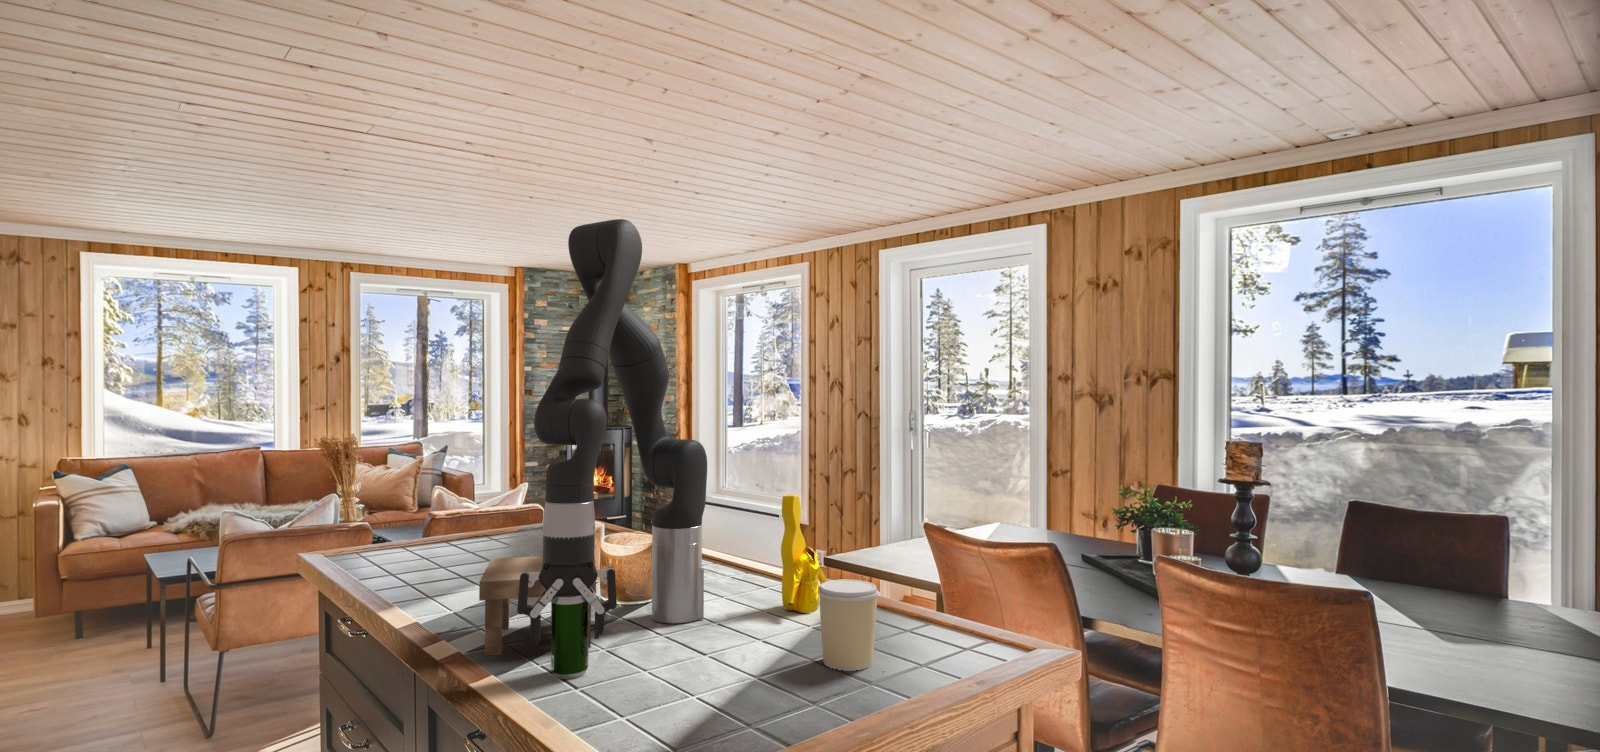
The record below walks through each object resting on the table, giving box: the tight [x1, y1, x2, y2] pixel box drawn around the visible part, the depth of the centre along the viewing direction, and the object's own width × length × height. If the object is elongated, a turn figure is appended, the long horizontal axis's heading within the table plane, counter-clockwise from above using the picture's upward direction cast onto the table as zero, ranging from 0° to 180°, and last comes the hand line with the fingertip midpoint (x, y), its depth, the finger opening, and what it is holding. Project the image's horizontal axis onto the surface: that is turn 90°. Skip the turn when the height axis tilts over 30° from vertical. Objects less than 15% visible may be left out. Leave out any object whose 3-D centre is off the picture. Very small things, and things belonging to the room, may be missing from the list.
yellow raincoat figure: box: [780, 494, 828, 614], centre depth 159 cm, size 18×8×22 cm, turn 156°
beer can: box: [550, 594, 589, 680], centre depth 123 cm, size 5×5×12 cm
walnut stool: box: [478, 555, 597, 656], centre depth 141 cm, size 18×18×12 cm
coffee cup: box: [818, 578, 879, 672], centre depth 128 cm, size 9×9×12 cm
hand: (567, 639), depth 123 cm, fingers open, 8 cm apart
